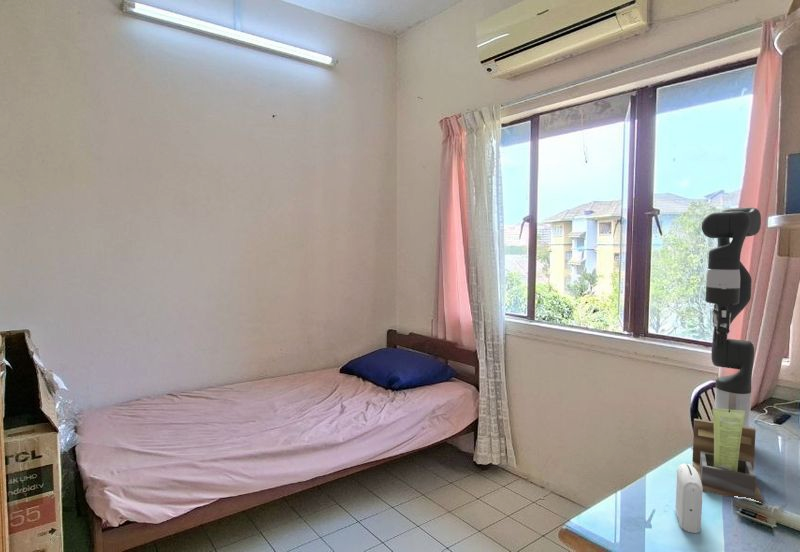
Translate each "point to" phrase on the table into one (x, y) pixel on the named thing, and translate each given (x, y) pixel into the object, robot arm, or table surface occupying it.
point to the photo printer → (689, 498)
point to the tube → (727, 437)
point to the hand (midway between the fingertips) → (720, 344)
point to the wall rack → (724, 479)
